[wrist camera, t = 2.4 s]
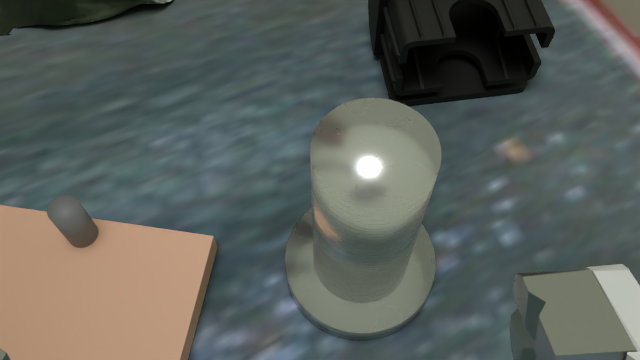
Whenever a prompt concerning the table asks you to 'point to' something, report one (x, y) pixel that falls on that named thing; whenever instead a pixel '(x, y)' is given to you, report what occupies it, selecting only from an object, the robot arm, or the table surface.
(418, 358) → the table surface
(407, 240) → the hub
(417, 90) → the end cap
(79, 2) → the rose bouquet
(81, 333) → the locating plate
